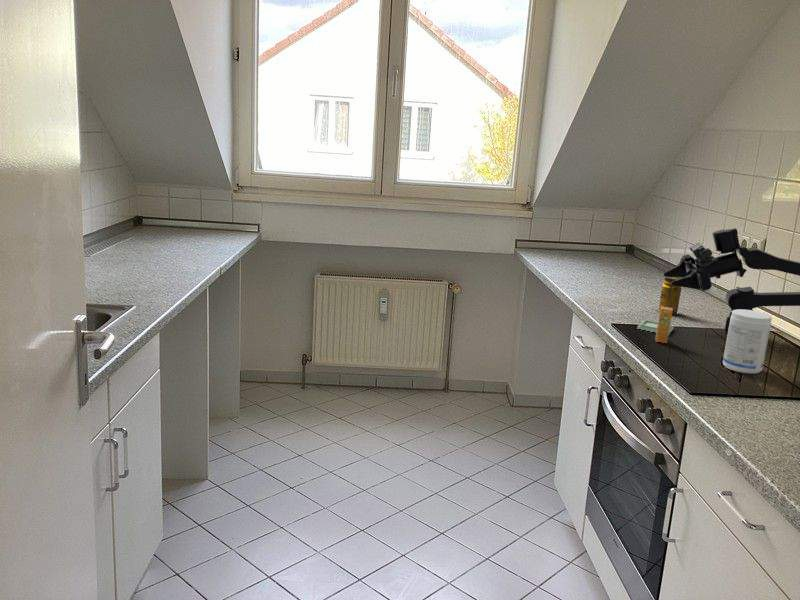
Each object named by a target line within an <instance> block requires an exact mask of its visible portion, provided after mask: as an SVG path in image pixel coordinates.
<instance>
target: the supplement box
mask: <svg viewBox="0 0 800 600" xmlns="http://www.w3.org/2000/svg"><path fill="white" fill-rule="evenodd" d="M672 311H673V308H668V307H663V306H661V309H660V313H659V317H658V321H657V322H658V327H657V332H656V333H655V338H654V342H655V341H656V342H655V343H657V342H662V343H661V344H663V343H666V344H667V343H668V338H669V337H668V336H669V335H668V333H669V328H670V325H671V321H672V318H673V317H672V316H673V315H672Z"/></svg>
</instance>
